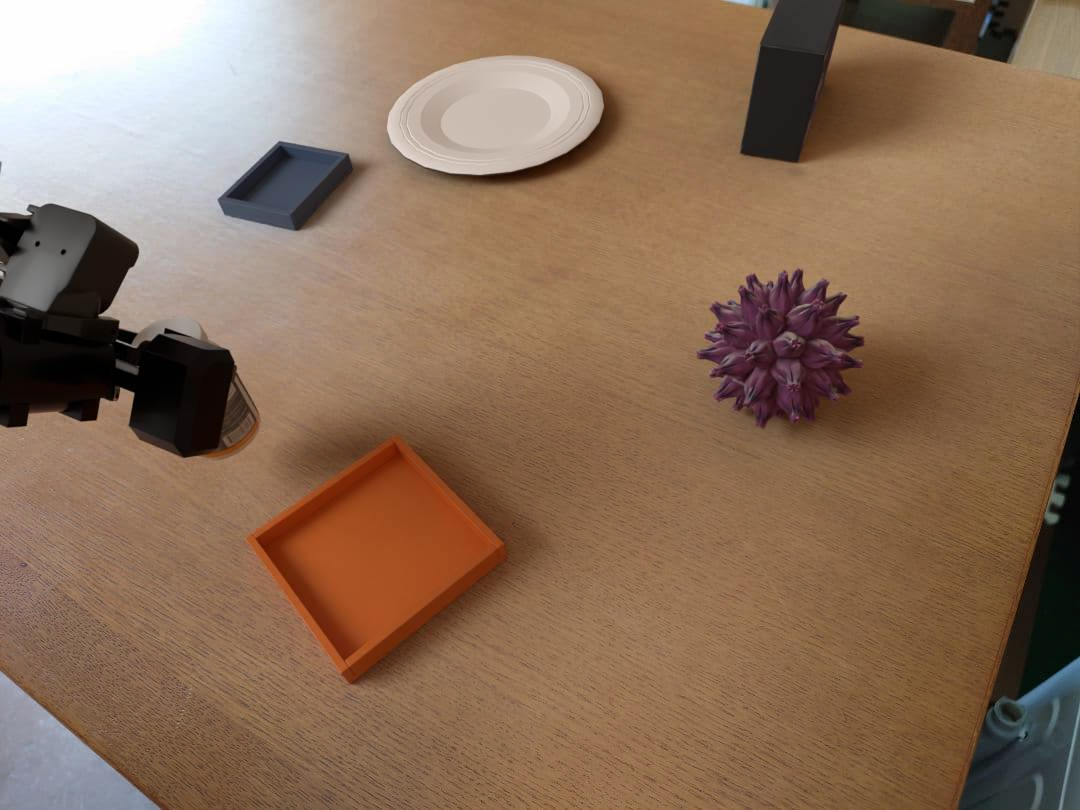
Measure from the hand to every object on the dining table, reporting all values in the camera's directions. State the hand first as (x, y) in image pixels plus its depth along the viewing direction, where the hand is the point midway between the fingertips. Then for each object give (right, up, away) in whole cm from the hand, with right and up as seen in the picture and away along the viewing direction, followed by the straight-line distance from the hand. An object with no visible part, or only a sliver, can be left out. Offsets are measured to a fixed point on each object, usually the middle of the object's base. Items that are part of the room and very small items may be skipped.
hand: (201, 360), depth 54 cm
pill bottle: (0, -5, +4) cm, 7 cm away
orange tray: (+12, -14, +2) cm, 18 cm away
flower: (+41, -3, +8) cm, 42 cm away
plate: (+18, +29, +37) cm, 51 cm away
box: (+51, +29, +32) cm, 67 cm away
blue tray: (-4, +20, +32) cm, 38 cm away
